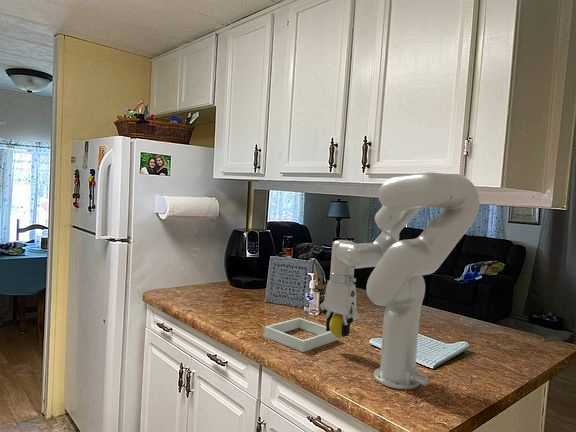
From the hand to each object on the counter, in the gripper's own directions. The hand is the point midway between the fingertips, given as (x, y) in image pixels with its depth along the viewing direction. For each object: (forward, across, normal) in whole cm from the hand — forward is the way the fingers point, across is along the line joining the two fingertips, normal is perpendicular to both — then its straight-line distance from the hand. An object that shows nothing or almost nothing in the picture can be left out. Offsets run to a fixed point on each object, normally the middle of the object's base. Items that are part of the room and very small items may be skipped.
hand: (337, 332), depth 139 cm
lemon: (+2, 0, 0) cm, 2 cm away
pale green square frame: (+6, +15, +1) cm, 16 cm away
